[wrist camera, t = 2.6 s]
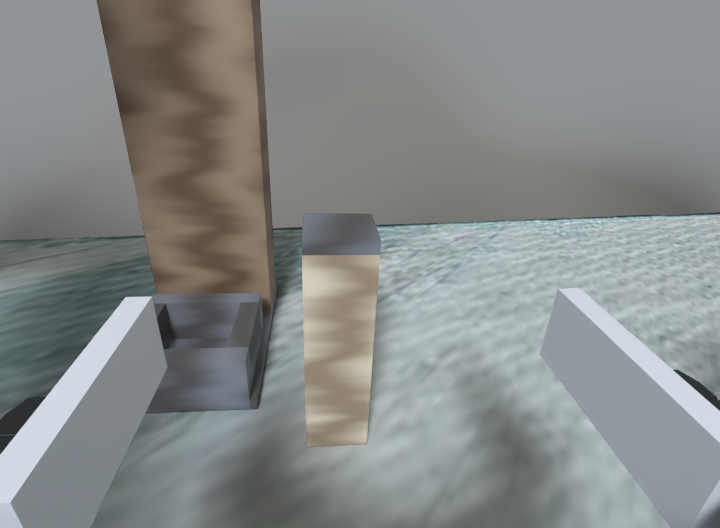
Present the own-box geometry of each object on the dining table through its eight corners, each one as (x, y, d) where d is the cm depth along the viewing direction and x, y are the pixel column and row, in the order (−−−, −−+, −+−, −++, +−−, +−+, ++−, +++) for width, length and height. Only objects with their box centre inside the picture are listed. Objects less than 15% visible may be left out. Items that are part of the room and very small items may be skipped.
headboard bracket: (111, 414, 29) (-47, -99, 17) (181, 291, 44) (126, -27, 32) (257, 408, 30) (212, -80, 18) (277, 290, 45) (260, -19, 33)
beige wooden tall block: (306, 446, 27) (301, 240, 21) (307, 401, 31) (303, 213, 24) (366, 443, 28) (380, 241, 21) (361, 399, 31) (371, 213, 25)
